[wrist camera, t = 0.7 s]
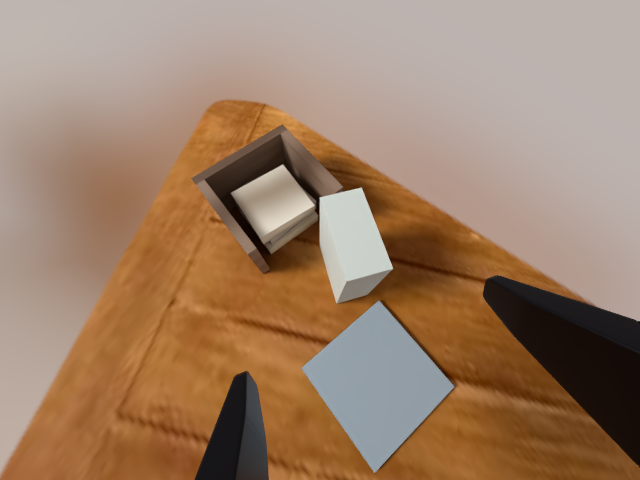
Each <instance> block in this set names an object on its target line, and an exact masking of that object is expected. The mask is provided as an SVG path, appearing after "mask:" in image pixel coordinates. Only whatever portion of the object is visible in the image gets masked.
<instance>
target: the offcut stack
mask: <svg viewBox="0 0 640 480" xmlns="http://www.w3.org/2000/svg"><path fill="white" fill-rule="evenodd" d="M231 195H232V196H233V198H234V200H235V201H236V205H237V207H238V211H239V212H240V214H241V215H242V217H243V218H244V219H245V221H246V222H247V223H248V225H249V226H250V227H251V229H252V230H253V231H254V232H255V234H256V235H257V236H258V238H259V239H260V240H261V242H262V243H263V244H264V245H265V247H266V248H267V249H268V251H269V252H270V253H271V254H272V253H274V252H275V251H276V250H278V249H279V248H281V247H282V246H283V245H285V244H286V243H288V242H289V241H290V240H292V239H293V238H295V237H296V236H297V235H299V234H300V233H302V232H303V231H304V230H306V229H307V228H309V227H310V226H311V225H313V224H314V223H315V222H317V221H318V214H317V213H316V212H315V209H316V200H315V199H314V198H312V197H311V196H310V195H309V194H308V193H307V192H306V191H305V190H304V189H303V188H302V187H301V186H299V184H298V183H297V182H296V181H295V179H294V178H293V177H292V175H291V174H290V173H289V171H288V170H287V169H286V168H285V166H284V165H281V166H279V167H277V168H275V169H274V170H272V171H270V172H268V173H266V174H264V175H263V176H261V177H259V178H257V179H255V180H253V181H252V182H250V183H248V184H246V185H244V186H242V187H241V188H239V189H237V190H235V191H233V192H231Z"/></svg>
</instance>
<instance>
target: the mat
mask: <svg viewBox="0 0 640 480" xmlns="http://www.w3.org/2000/svg"><path fill="white" fill-rule="evenodd" d="M301 369H302V370H303V371H304V373H305V374H306V376H307V377H308V379H309V380H310V381H311V383H312V384H313V386H314V387H315V389H316V390H317V391H318V393H319V394H320V396H321V397H322V399H323V400H324V401H325V403H326V404H327V406H328V407H329V409H330V410H331V411H332V413H333V414H334V416H335V417H336V418H337V420H338V421H339V423H340V424H341V426H342V427H343V428H344V430H345V431H346V433H347V434H348V436H349V437H350V438H351V440H352V441H353V443H354V444H355V446H356V447H357V448H358V450H359V451H360V453H361V454H362V456H363V457H364V458H365V460H366V461H367V463H368V464H369V466H370V467H371V468H372V470H373V471H374V473H375V472H376V471H377V470H378V469H379V468H380V467H381V465H382V464H383V463H384V462H385V461H386V460H387V459H388V458H389V457H390V456H391V455H392V454H393V453H394V451H395V450H396V449H397V448H398V447H399V446H400V445H401V444H402V443H403V442H404V441H405V440H406V439H407V437H408V436H409V435H410V434H411V433H412V432H413V431H414V430H415V429H416V428H417V427H418V426H419V425H420V423H421V422H422V421H423V420H424V419H425V418H426V417H427V416H428V415H429V414H430V413H431V412H432V411H433V409H434V408H435V407H436V406H437V405H438V404H439V403H440V402H441V401H442V400H443V399H444V398H445V396H446V395H447V394H448V393H449V392H450V391H451V390H452V389H453V388H454V386H453V384H452V383H451V382H450V381H449V380H448V379H447V377H446V376H445V375H444V374H443V373H442V372H441V371H440V369H439V368H438V367H437V366H436V365H435V364H434V363H433V361H432V360H431V359H430V358H429V357H428V356H427V355H426V353H425V352H424V351H423V350H422V349H421V348H420V347H419V345H418V344H417V343H416V342H415V341H414V340H413V339H412V337H411V336H410V335H409V334H408V333H407V332H406V331H405V329H404V328H403V327H402V326H401V325H400V324H399V323H398V321H397V320H396V319H395V318H394V317H393V316H392V315H391V313H390V312H389V311H388V310H387V309H386V308H385V307H384V305H383V304H382V303H381V302H380V301H377V302H376V303H375V304H374V305H373V306H372V307H371V308H369V309H368V310H367V311H366V312H365V313H364V314H363V315H361V316H360V317H359V318H358V319H357V320H356V321H355V322H353V323H352V324H351V325H350V326H349V327H348V328H347V329H345V330H344V331H343V332H342V333H341V334H340V335H339V336H337V337H336V338H335V339H334V340H333V341H332V342H331V343H329V344H328V345H327V346H326V347H325V348H324V349H323V350H321V351H320V352H319V353H318V354H317V355H316V356H315V357H313V358H312V359H311V360H310V361H309V362H308V363H307V364H305V365H304V366H303V367H302V368H301Z"/></svg>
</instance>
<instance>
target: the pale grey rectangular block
mask: <svg viewBox="0 0 640 480" xmlns="http://www.w3.org/2000/svg"><path fill="white" fill-rule="evenodd" d="M320 249H321V252H322V255H323V259H324V262H325V266H326V269H327V273H328V276H329V279H330V283H331V286H332V290H333V293H334V296H335V300H336V303H337V304H338V303H341V302H345V301H348V300H352V299H355V298H359V297H362V296H366V295H368V294H369V293H370V292H371V291H372V290H373V289H374V288H375V287H376V286H377V285H378V284H379V283H380V282H381V281H382V280H383V278H384V277H385V276H386V275H387V274H388V273H389V272H390V271H391V270H392V269H393V267H392V264H391V262H390V259H389V257H388V254H387V251H386V249H385V246H384V244H383V241H382V239H381V236H380V233H379V231H378V228H377V226H376V223H375V221H374V218H373V215H372V213H371V210H370V208H369V205H368V203H367V200H366V197H365V195H364V192H363V190H362V188H357V189H353V190H349V191H345V192H341V193H336V194H332V195H328V196H324V197H320Z"/></svg>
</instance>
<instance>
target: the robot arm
mask: <svg viewBox="0 0 640 480" xmlns="http://www.w3.org/2000/svg"><path fill="white" fill-rule="evenodd" d="M483 297H484V299H485V301H486V302H487V303H488V305H489V306H490V307H491V308H492V310H493V311H494V312H495V313H496V315H497V316H498V317H499V318H500V320H501V321H502V322H503V323H504V325H505V326H506V327H507V328H508V330H509V331H510V332H511V333H512V334H513V336H514V337H515V338H516V339H517V340H518V341H519V342H520V343H521V344H522V345H523V346H524V347H525V348H526V349H527V350H528V351H529V352H530V354H531V355H532V356H533V357H534V358H535V359H536V360H537V361H538V362H539V363H540V364H541V365H542V366H543V367H544V368H545V369H546V370H547V371H548V372H549V373H550V374H551V375H552V377H553V378H554V379H555V380H556V381H557V382H558V383H559V384H560V385H561V386H562V387H563V388H564V389H565V390H566V391H567V392H568V393H569V394H570V395H571V396H572V397H573V398H574V399H575V401H576V402H577V403H578V404H579V405H580V406H581V407H582V408H583V409H584V410H585V411H586V412H587V413H588V414H589V415H590V416H591V417H592V418H593V419H594V420H595V421H596V422H597V423H598V425H599V426H600V427H601V428H602V429H603V430H604V431H605V432H606V433H607V434H608V435H609V436H610V437H611V438H612V439H613V440H614V441H615V442H616V443H617V444H618V445H619V446H620V448H621V449H622V450H623V451H624V452H625V453H626V454H627V455H628V456H629V457H630V458H631V459H632V460H633V461H634V462H635V463H636V464H637V465H638V466H639V468H640V321H638V322H637V321H636V320H634V319H631V318H628V317H625V316H622V315H619V314H616V313H613V312H610V311H607V310H604V309H600V308H597V307H594V306H591V305H588V304H585V303H582V302H579V301H576V300H573V299H570V298H567V297H564V296H561V295H557V294H554V293H551V292H548V291H545V290H542V289H539V288H536V287H533V286H530V285H527V284H524V283H521V282H518V281H514V280H511V279H508V278H505V277H502V276H498V275H496V276H493V277H490V278H488V279H486V281H485V286H484V291H483ZM195 480H269V477H268V461H267V446H266V436H265V430H264V424H263V418H262V412H261V406H260V400H259V394H258V389H257V385H256V383H255V381H254V380H253V378H252V377H251V375H250V374H249V372H247V371H245V372H242V373H240V374H237V375H236V376H235V377H234V379H233V381H232V384H231V386H230V389H229V391H228V394H227V397H226V399H225V402H224V404H223V407H222V410H221V412H220V415H219V417H218V420H217V423H216V425H215V428H214V430H213V433H212V435H211V438H210V441H209V443H208V446H207V448H206V451H205V454H204V456H203V459H202V461H201V464H200V467H199V469H198V472H197V474H196V477H195Z"/></svg>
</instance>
